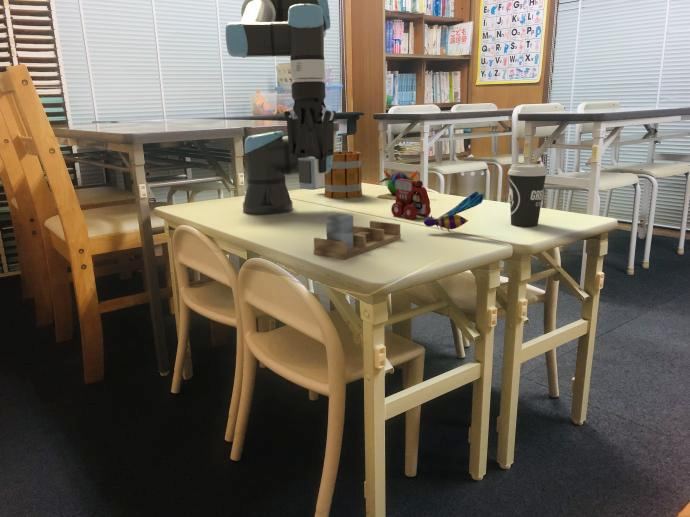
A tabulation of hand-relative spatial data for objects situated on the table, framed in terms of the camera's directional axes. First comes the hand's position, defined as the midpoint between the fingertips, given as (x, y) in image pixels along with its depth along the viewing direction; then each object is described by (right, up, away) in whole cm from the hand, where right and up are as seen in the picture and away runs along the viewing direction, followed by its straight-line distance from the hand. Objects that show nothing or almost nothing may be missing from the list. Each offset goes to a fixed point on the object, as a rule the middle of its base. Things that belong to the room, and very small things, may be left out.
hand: (312, 185), depth 128 cm
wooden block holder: (+11, -14, -6) cm, 19 cm away
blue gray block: (0, 0, 0) cm, 0 cm away
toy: (+34, -11, +4) cm, 36 cm away
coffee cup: (+53, -9, +11) cm, 55 cm away
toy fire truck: (+26, -6, +25) cm, 37 cm away
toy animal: (+25, +3, +58) cm, 63 cm away
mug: (+5, +5, +65) cm, 65 cm away
